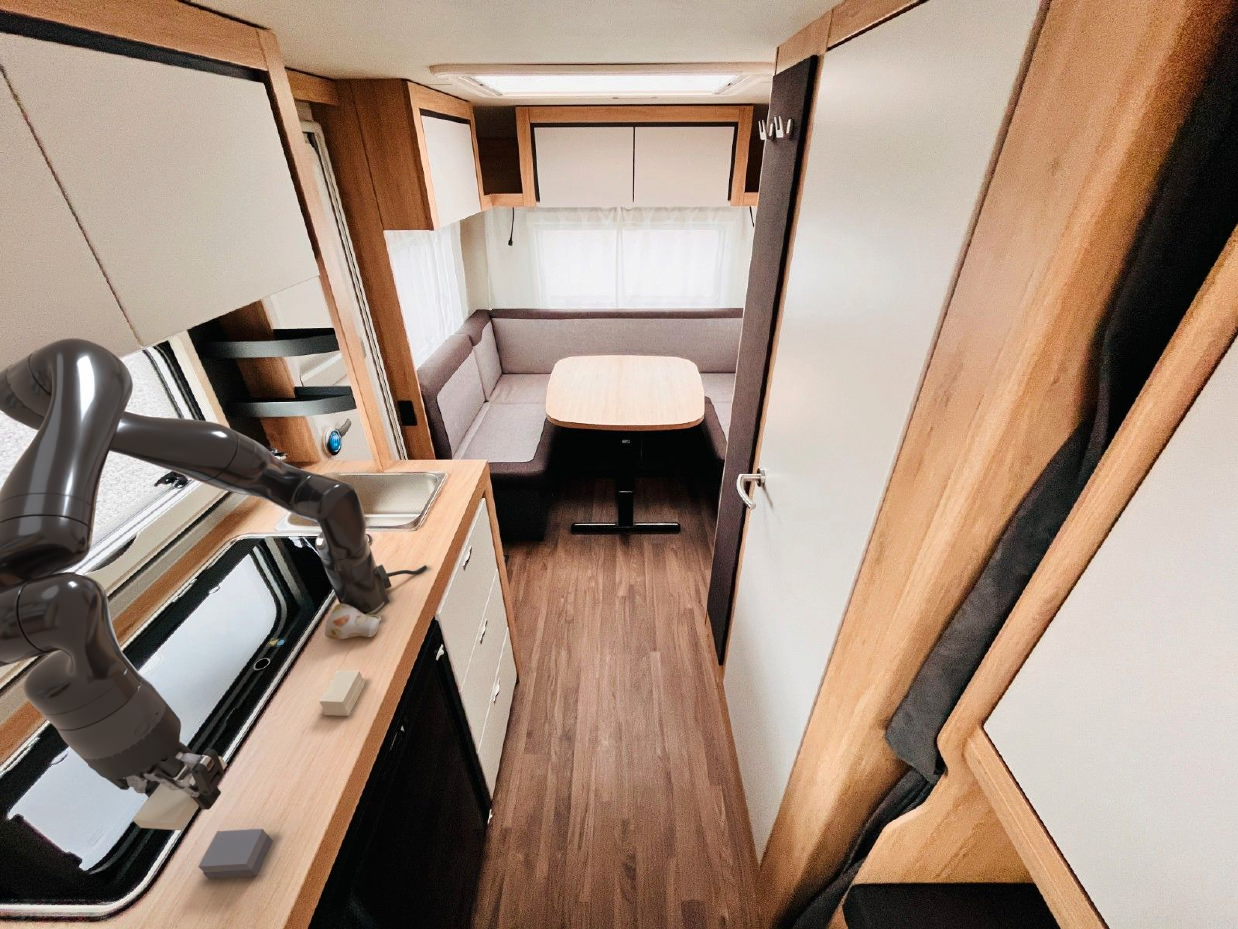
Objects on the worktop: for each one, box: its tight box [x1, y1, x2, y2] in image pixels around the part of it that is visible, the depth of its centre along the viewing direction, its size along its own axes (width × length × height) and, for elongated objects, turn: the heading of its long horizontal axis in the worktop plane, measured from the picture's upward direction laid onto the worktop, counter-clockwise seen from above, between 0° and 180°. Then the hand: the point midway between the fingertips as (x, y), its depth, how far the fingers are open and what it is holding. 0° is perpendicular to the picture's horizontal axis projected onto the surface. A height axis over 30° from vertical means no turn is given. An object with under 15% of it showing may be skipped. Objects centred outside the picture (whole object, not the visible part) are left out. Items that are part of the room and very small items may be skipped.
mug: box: [324, 603, 382, 640], centre depth 106 cm, size 8×10×10 cm
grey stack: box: [197, 828, 273, 880], centre depth 73 cm, size 7×4×4 cm
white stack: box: [318, 669, 366, 717], centre depth 94 cm, size 7×4×4 cm
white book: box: [132, 756, 228, 831], centre depth 63 cm, size 8×5×2 cm
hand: (190, 799), depth 64 cm, fingers closed on white book, 5 cm apart
